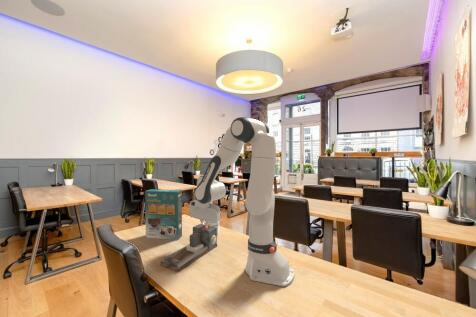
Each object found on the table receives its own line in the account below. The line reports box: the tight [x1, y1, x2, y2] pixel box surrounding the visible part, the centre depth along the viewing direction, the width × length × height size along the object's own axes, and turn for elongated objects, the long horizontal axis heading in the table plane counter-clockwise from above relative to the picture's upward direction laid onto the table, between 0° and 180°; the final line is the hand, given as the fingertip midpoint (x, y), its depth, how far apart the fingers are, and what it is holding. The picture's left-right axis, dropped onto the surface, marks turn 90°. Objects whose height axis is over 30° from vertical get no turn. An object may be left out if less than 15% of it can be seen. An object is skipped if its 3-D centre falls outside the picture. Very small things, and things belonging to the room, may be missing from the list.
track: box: [159, 223, 218, 273], centre depth 116 cm, size 12×31×12 cm, turn 150°
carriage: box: [186, 232, 203, 253], centre depth 119 cm, size 7×6×8 cm
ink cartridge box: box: [208, 220, 220, 236], centre depth 146 cm, size 9×5×15 cm, turn 84°
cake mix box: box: [144, 188, 183, 241], centre depth 140 cm, size 22×6×30 cm, turn 82°
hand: (204, 226), depth 126 cm, fingers closed, pressing on reset button
